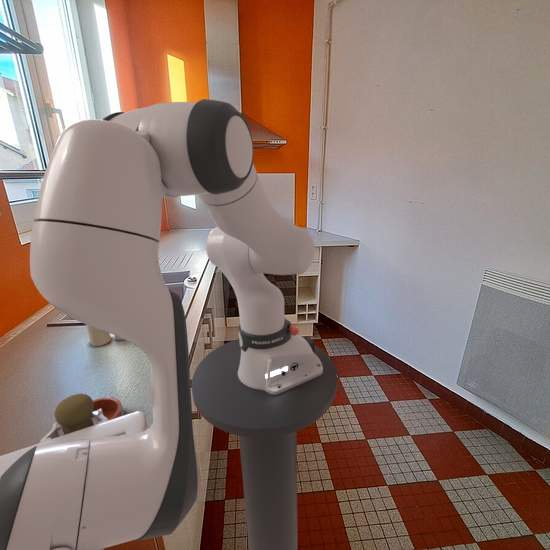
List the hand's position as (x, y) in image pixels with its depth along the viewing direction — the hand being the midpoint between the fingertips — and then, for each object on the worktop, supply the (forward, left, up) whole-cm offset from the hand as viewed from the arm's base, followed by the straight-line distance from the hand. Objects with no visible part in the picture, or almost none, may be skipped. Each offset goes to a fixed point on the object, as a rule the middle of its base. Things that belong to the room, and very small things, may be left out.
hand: (79, 418), depth 50 cm
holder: (+1, -11, -12) cm, 16 cm away
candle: (+7, -49, -12) cm, 51 cm away
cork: (0, +1, -7) cm, 7 cm away
